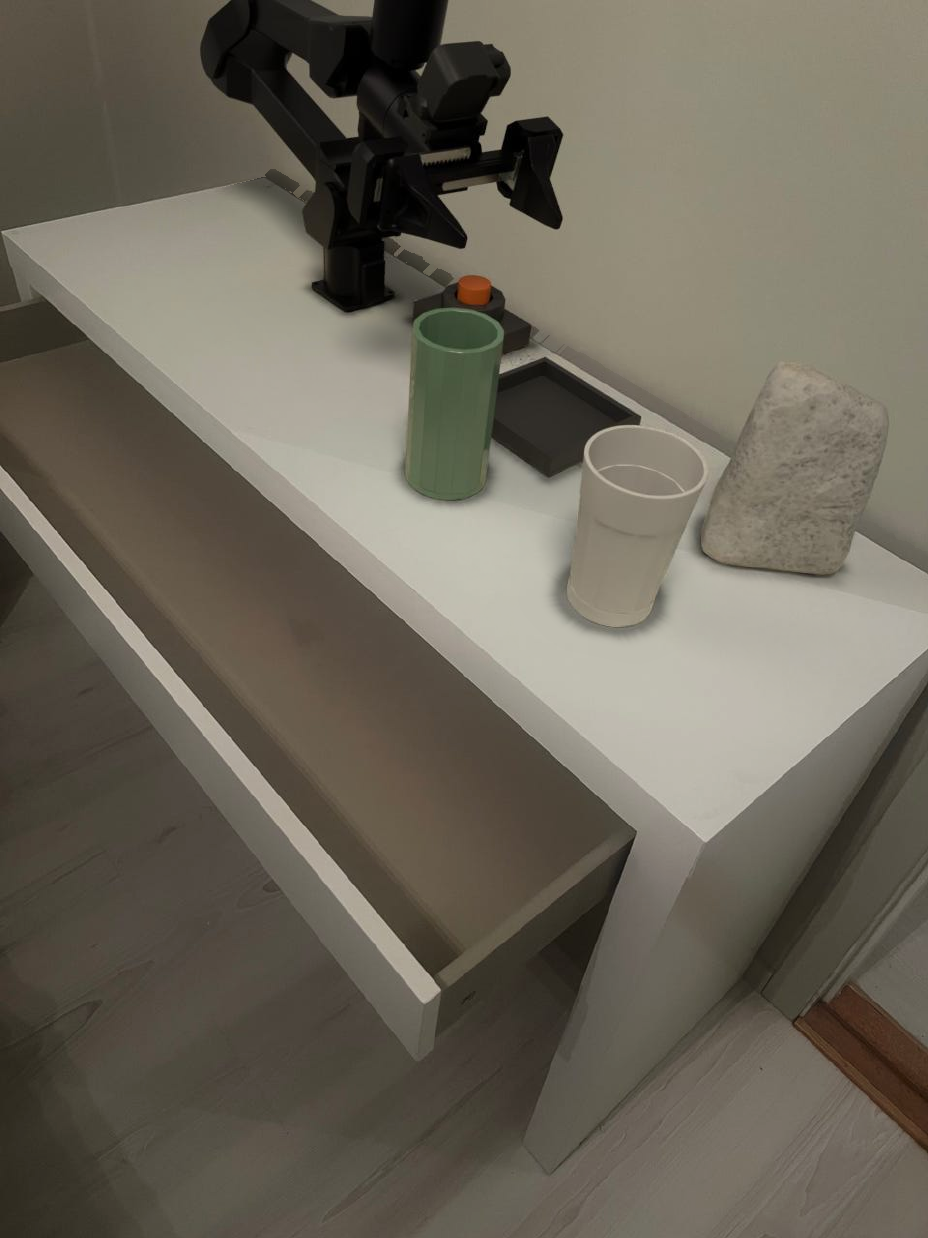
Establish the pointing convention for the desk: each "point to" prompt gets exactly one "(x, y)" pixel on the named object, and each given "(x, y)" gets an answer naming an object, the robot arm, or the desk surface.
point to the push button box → (511, 324)
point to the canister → (452, 401)
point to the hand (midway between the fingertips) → (513, 233)
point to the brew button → (474, 290)
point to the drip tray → (552, 415)
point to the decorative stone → (797, 474)
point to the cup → (630, 520)
